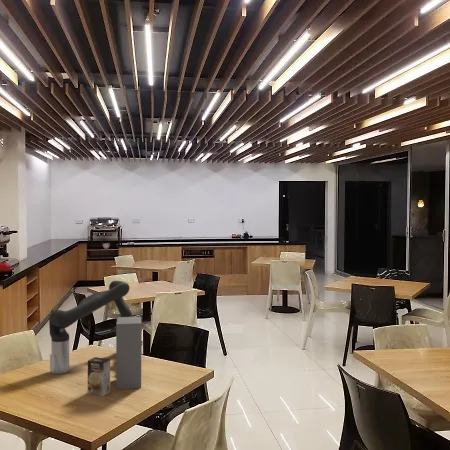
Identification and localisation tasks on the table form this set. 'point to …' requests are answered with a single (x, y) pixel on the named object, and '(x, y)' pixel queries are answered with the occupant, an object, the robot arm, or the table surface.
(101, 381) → the coffee box
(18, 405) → the table surface
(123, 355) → the pedestal
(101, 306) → the robot arm
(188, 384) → the table surface
